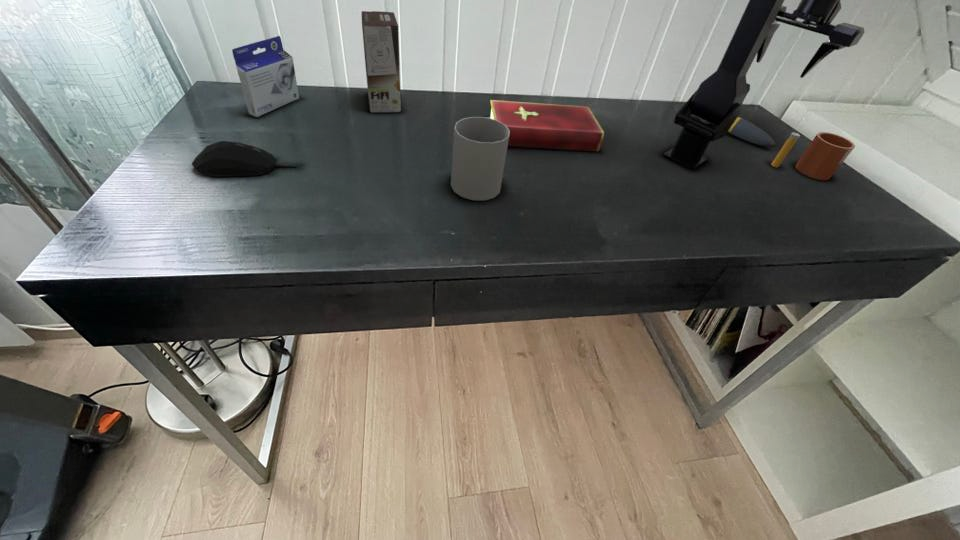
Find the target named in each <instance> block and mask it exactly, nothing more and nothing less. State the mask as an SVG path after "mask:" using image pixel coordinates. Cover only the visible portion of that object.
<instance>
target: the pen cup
mask: <svg viewBox="0 0 960 540" xmlns="http://www.w3.org/2000/svg"><path fill="white" fill-rule="evenodd" d="M855 148H856V145H855V143H853V142H852V141H851V140H850V139H848V138H846V137H844V136H842V135H840V134H836V133H833V132H826V131H820V132H818V133H817V134H816V135H815V136H814V137H813V139H812V141H811V142H810V144H809V145H808V146H807V148H806V149H805V150H804V151H803V153H802V155H801V156H800V158H799V159H798V160H797V162H796V163H795V166H794V167H795V169H796V170H797V171H798V172H799V173H800V174H802V175H804V176H806V177H808V178H811V179H814V180H817V181H828V180H830V179H831V178H832V177H833V175H834V174H835V173H836V172H837V170H838V169H839V168H840V167H841V165H843V163H844V162H845V161H846V159H847V158H848V157H849V155H850V154H851V153H852V151H853V150H854V149H855Z"/></svg>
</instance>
